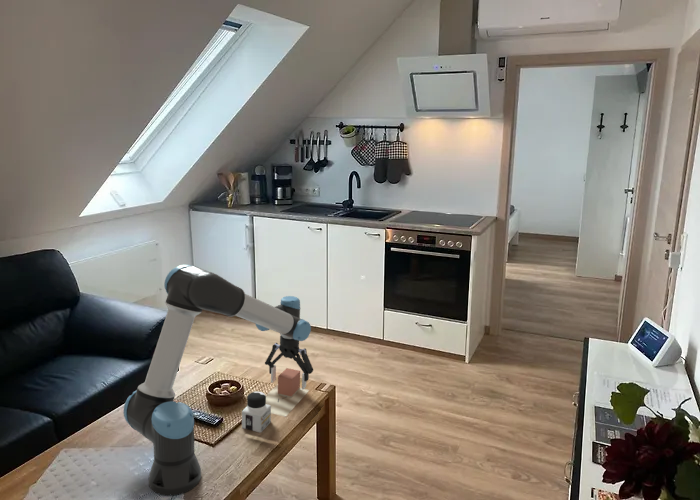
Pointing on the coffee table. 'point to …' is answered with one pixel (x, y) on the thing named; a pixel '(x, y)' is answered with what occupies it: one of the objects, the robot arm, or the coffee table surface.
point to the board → (283, 401)
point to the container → (256, 412)
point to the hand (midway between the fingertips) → (288, 384)
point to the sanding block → (288, 382)
